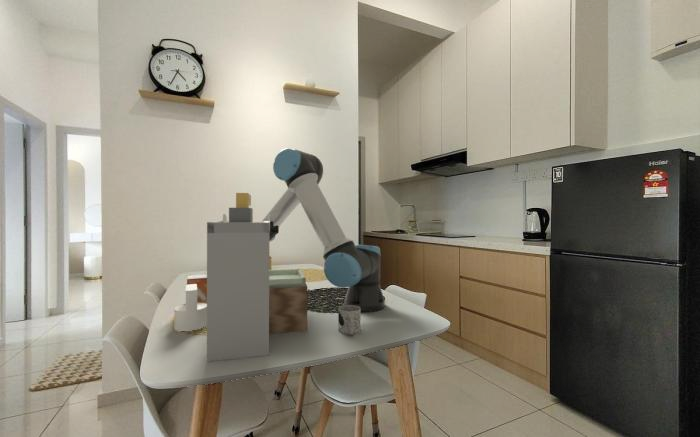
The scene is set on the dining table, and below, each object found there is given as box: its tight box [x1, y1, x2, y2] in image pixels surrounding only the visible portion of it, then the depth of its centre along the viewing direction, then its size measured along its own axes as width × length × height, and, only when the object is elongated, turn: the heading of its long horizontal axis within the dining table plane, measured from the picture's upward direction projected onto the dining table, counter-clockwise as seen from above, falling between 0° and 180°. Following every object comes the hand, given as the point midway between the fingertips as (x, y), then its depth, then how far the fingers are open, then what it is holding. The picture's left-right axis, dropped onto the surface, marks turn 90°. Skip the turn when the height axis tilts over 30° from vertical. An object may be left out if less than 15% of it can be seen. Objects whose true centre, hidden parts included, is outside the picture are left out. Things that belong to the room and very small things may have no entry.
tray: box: [269, 268, 307, 288], centre depth 98 cm, size 12×16×2 cm
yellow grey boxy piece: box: [228, 192, 254, 222], centre depth 84 cm, size 5×19×10 cm, turn 15°
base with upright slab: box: [173, 284, 207, 333], centre depth 94 cm, size 9×9×12 cm
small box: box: [186, 273, 207, 304], centre depth 105 cm, size 8×6×13 cm
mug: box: [337, 304, 362, 335], centre depth 90 cm, size 10×7×7 cm
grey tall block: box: [206, 220, 270, 363], centre depth 79 cm, size 14×12×32 cm
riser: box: [269, 284, 308, 335], centre depth 98 cm, size 13×17×13 cm
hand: (246, 218), depth 98 cm, fingers open, 13 cm apart
